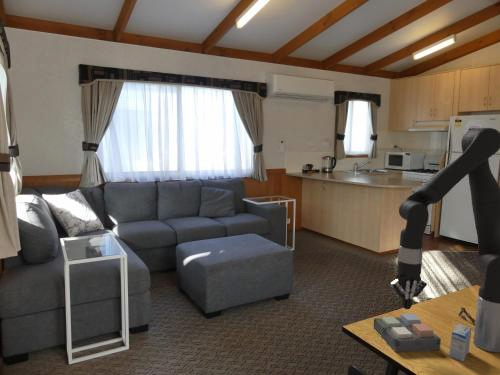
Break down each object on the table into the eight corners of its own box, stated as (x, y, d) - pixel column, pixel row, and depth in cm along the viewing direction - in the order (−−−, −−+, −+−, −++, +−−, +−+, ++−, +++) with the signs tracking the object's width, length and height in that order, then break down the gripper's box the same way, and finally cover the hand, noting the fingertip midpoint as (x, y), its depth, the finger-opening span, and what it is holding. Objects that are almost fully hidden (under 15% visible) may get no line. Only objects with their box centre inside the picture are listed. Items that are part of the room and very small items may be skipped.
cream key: (404, 333, 135) (404, 326, 135) (411, 340, 131) (412, 333, 130) (391, 333, 135) (391, 327, 134) (398, 341, 130) (398, 334, 130)
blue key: (412, 319, 144) (413, 313, 144) (419, 326, 139) (420, 319, 139) (400, 320, 143) (401, 314, 143) (407, 326, 138) (407, 320, 138)
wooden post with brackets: (458, 313, 157) (463, 305, 155) (473, 329, 151) (479, 321, 149) (455, 313, 157) (460, 305, 154) (470, 329, 150) (475, 322, 148)
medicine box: (454, 347, 133) (456, 323, 132) (469, 351, 130) (471, 327, 129) (448, 356, 127) (451, 331, 126) (464, 362, 124) (466, 336, 123)
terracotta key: (424, 329, 136) (424, 323, 136) (432, 336, 132) (433, 330, 131) (411, 330, 136) (412, 323, 135) (419, 337, 131) (420, 330, 131)
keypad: (413, 326, 146) (414, 316, 146) (439, 349, 131) (440, 338, 130) (373, 328, 144) (374, 318, 144) (395, 352, 128) (396, 341, 128)
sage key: (393, 322, 143) (393, 316, 143) (399, 329, 138) (400, 323, 138) (380, 323, 142) (381, 317, 142) (387, 329, 138) (387, 323, 137)
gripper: (421, 255, 135) (417, 302, 137) (386, 256, 133) (383, 304, 135) (434, 262, 128) (430, 312, 130) (397, 263, 126) (394, 314, 128)
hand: (406, 308), depth 133 cm, fingers closed
